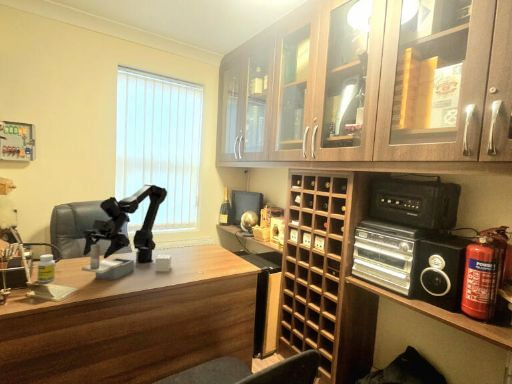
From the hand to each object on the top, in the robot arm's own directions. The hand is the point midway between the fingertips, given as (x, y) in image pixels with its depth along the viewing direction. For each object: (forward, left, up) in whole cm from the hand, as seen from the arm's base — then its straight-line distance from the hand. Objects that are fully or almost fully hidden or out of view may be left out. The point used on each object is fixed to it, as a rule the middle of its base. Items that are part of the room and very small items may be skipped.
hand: (94, 256), depth 107 cm
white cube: (-29, -3, -11) cm, 32 cm away
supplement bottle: (+14, -14, -11) cm, 23 cm away
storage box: (-10, -7, -11) cm, 16 cm away
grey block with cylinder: (-4, -3, -6) cm, 8 cm away
